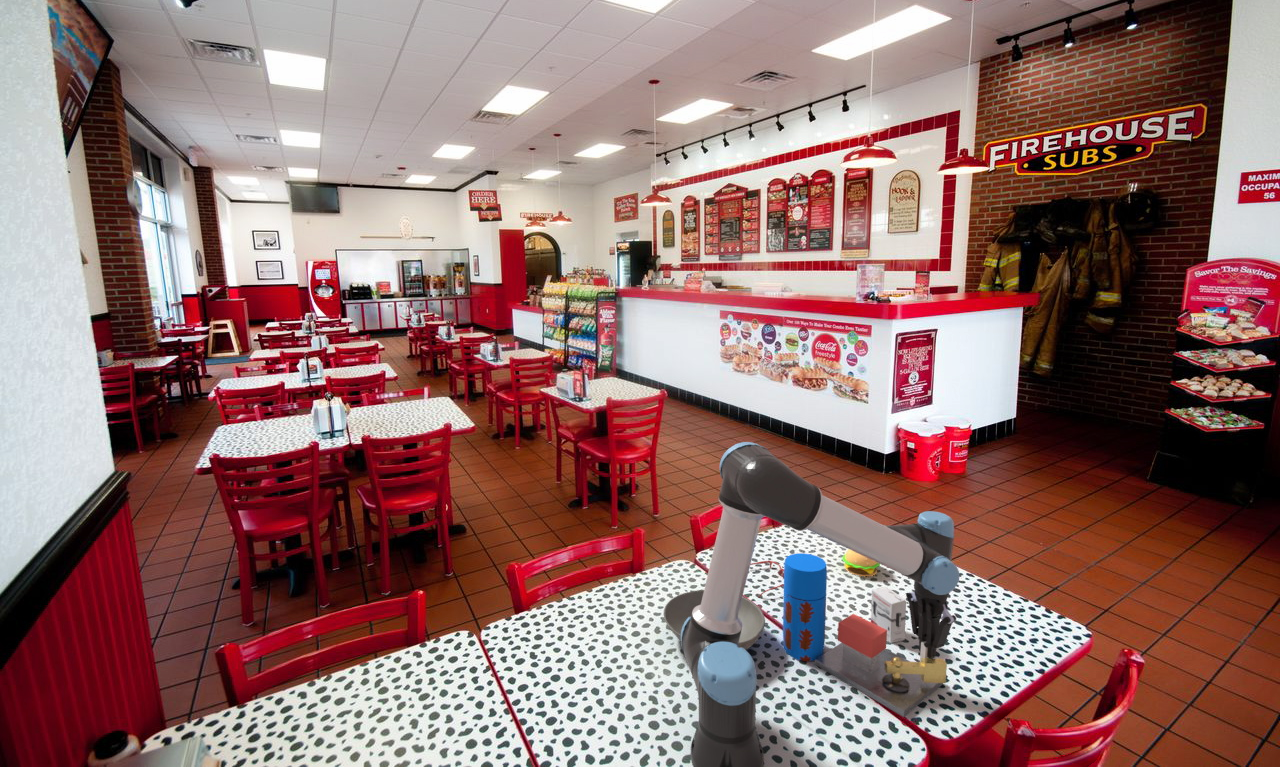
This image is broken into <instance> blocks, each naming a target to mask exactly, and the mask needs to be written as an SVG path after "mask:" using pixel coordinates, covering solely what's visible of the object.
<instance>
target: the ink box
mask: <svg viewBox="0 0 1280 767" xmlns="http://www.w3.org/2000/svg"><path fill="white" fill-rule="evenodd" d="M870 608H871V610H870V611H871V612H870V622H871V623H873V624H876V625H878V626H880V627H882V628H884V629H886V630H887V642H888V643H890V644H893V643H897V642H902V641H905V638H906V619H907V618H906V614H907V600H906V598H904V597H902V596H901V595H899V594H898V593H897V592H895V591H893V590H892V589H891V588H889V587H888V586H883V587H878V588H874V589H871V606H870Z"/></svg>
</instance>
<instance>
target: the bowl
mask: <svg viewBox="0 0 1280 767" xmlns="http://www.w3.org/2000/svg"><path fill="white" fill-rule="evenodd" d="M703 593H704V589H699V590H698V589H697V590H692V591H687V592H683V593H680V594H679V595H676V596H674V597H672V598H671V599H669V601H668V602H667V603H666V604H665V606H664V608H663V618H664V622H665V624H666V625H667V626H668V628H669V630H670V632H672V633H673V635H675V637H676V638H677V639H678V640H679V641H680V642H681V630H682V627H683V625H684V623H685V621H686V620H687V618H688V617H691V615H692V611H693V609H694V608H695V607H696V606H698V605H701V602H702V597H703ZM738 617H739V619H740V620H741V622H742V630H741V635H740V639H739V643H738V648H740V647H742V648H744V649H745V650H746V651H747V650H748V649H749V648H751V647H752V646H753V645H754V644H755V643H757V641H758V640H759V638H760V637H761V635H762V633H763V631H764V629H765V626H766V618H765V615H764V612H763V611H762V609H761V608H760V607H759V606H758V605H757V604H756V603H755V602H753V601H752V600H750V599H748V598H747V597H744V596H743V597H742V601H741V605H740V609H739V613H738Z"/></svg>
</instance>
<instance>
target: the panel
mask: <svg viewBox="0 0 1280 767" xmlns="http://www.w3.org/2000/svg"><path fill="white" fill-rule="evenodd" d="M894 657H899V658H900V659H901V660H902V661H904V662H911V660H909V659H906V658H904V657H903V656H900V655H898V654H897V653H894V652H892V651H891V650H889V649H887V648H886V649H885V650H883V651H882V652H880V653H879V654H877V655H876V656H874V657H873V658H870V657H868V656H866V655H864V654H862V653H860V652H858V651H856V650H855V649H853V648H851V647H849V646H847V645H845V644H843V643H841V642H840V643H838V644H837V645H836V646H834V647H832V648H831V649H828V651H826V652H824V653H823V655H821V656H820V657H818V658H816V659H815V660H814V665H815V666H817V667H818V668H820V669H822V670H823V671H825V672H827V673H829V674H830V675H832V676H833V677H835V678H837V679H839V680H840V681H842V682H844V683H845V684H847V685H849V686H850V687H852V688H854V689H856V690H858V692H860V693H862V694H864V695H865V696H867V697H869V698H871V699H872V700H874V701H876V702H877V703H879V704H881V705H882V706H885V707H886V708H888V709H889V710H891V711H892V712H894V713H895V714H897V715H899V716H901V717H902V718H904V717H906V716H907V715H908V714H909V713H910V712H912V710H914V709H915V708H916V707H918V705H920V704H921V703H922V702H923V701H924V700H926V699H927V698H928V697H930V696H931V695H932V694H933V693H934V692H936V691H937V690H938V689H940V687H941V686H943V685H944V683H926V682H923V680H922V679H921V677H920V676H921V674H901V682H900V683H899V684H896V683H893V682H892V680H891V679H892V673H887V672H886V670H885V661H892V659H893V658H894Z"/></svg>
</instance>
